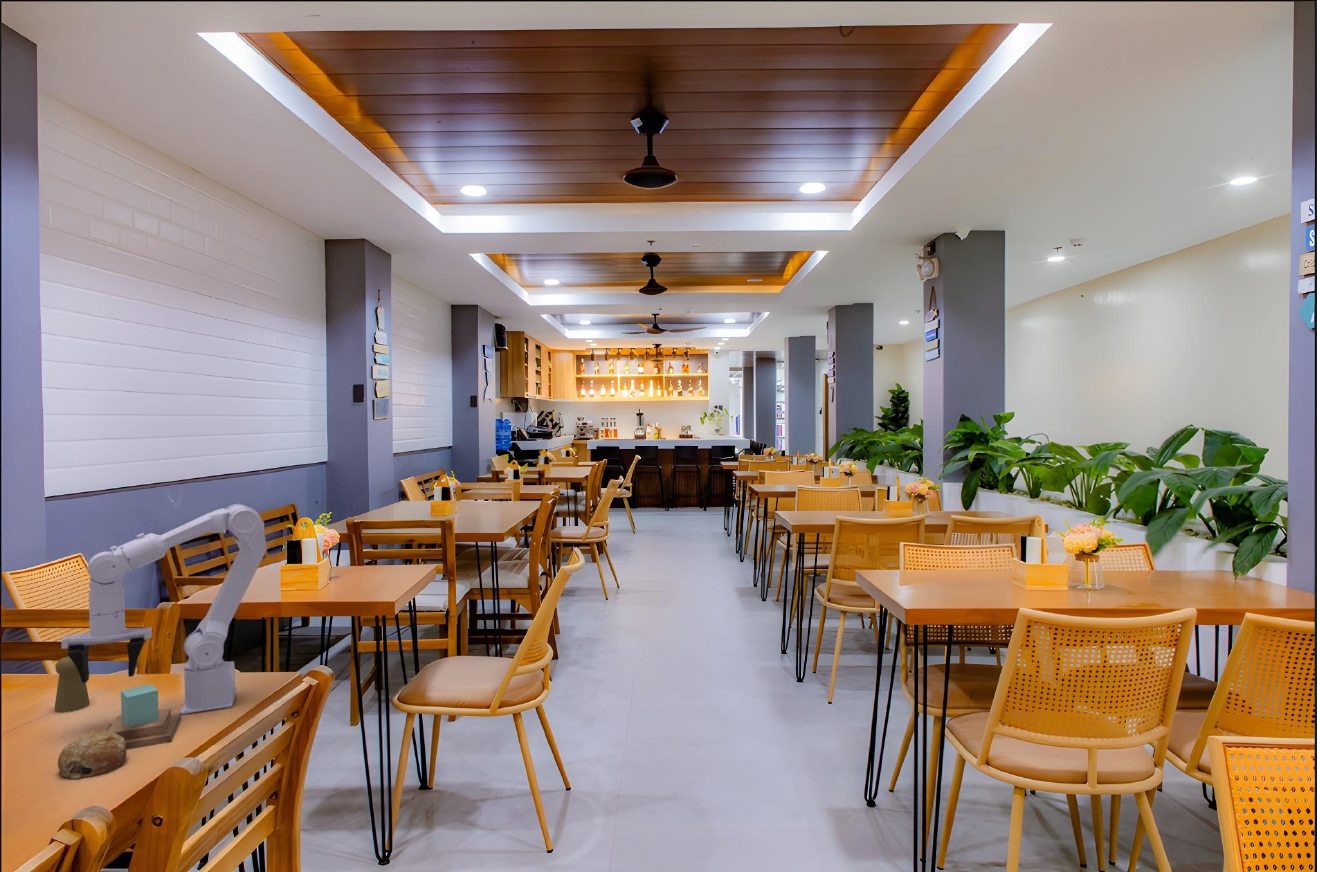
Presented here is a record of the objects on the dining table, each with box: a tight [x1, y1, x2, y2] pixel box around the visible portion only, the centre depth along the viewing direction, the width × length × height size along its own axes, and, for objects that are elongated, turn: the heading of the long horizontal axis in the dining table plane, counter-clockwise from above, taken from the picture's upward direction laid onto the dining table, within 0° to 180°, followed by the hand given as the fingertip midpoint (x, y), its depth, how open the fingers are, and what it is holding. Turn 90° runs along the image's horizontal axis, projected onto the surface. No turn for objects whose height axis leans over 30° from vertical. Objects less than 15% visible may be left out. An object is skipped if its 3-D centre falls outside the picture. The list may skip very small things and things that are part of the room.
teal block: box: [120, 683, 159, 728], centre depth 142 cm, size 5×5×6 cm
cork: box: [54, 655, 91, 714], centre depth 157 cm, size 6×6×11 cm
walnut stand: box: [105, 707, 182, 750], centre depth 142 cm, size 12×12×3 cm
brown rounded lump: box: [57, 729, 127, 780], centre depth 130 cm, size 10×10×8 cm
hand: (108, 678), depth 147 cm, fingers open, 7 cm apart
